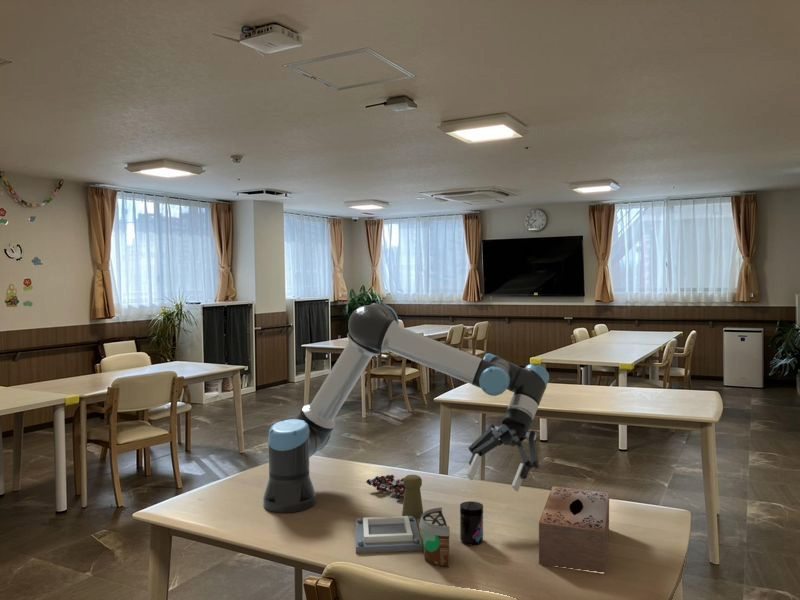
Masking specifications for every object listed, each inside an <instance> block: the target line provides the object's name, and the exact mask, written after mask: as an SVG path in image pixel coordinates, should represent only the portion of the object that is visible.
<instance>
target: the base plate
mask: <svg viewBox="0 0 800 600" xmlns="http://www.w3.org/2000/svg"><path fill="white" fill-rule="evenodd" d="M416 520H417V519H415V518H414V517H413V516H409V517H408V516H402V515H400V516H399V515H396V516H395V515H394V516H369V517H358V518H357V519H356V520H355V521H354V522H355V523H354V524H355V525H354V527H355V534H354V535H355V553H356V554H368V553H369V554H370V553H371V554H372V553H390V552H391V553H392V552H393V553H394V552H411V551H412V552H415V551H423V544H422V540H421V536H420V532H419V528H418V525H417V524H418V523H417V521H416Z"/></svg>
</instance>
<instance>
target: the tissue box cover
mask: <svg viewBox="0 0 800 600" xmlns="http://www.w3.org/2000/svg"><path fill="white" fill-rule="evenodd" d="M546 500H547V501H546V503H545V505H544V508H543V511H542V514H541V516H540V519H539V522H538V565H539V564H543V565H542V566H546V565H548V566H547V567H552V566H558V567H566V568H573V569H581V570H589V571H597V572H605V573H606V567H605V564H607V556H606V553H607V552H608V545H607V542H608V543H609V534H608V532H609V531H610V492H608V491H607V492H606V491H597V490H590V489H579V488H572V487H565V486H564V487H562V486H555V485H554V486H553V485H552V486H551V489H550V492H549V495H548V497H547V499H546ZM609 533H610V532H609ZM549 565H550V566H549ZM558 567H557V568H558Z"/></svg>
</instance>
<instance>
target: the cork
mask: <svg viewBox="0 0 800 600" xmlns="http://www.w3.org/2000/svg"><path fill="white" fill-rule="evenodd" d="M403 478H404V480H403V484H404V487H405V495H404V496H403V497H404V498H403V504H402V505H403V506H402V511H401V516H408V517H409V516H413V517H414V518H415V520H419V519H421V517H422V514H423V513H424V507H423V500H422V494H421V487H422V484H423V480H422V478H421V476H420V475H417V474H407V475H405V476H404V477H403Z"/></svg>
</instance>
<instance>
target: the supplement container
mask: <svg viewBox="0 0 800 600" xmlns="http://www.w3.org/2000/svg"><path fill="white" fill-rule="evenodd" d="M459 514H460V515H459V539H460V542H461V543H463V544H465V545H467V546H479V545H481V544H482V543H483V541H484V504H483V503H481V502H478V501H464V502H462V503H460V504H459Z"/></svg>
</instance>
